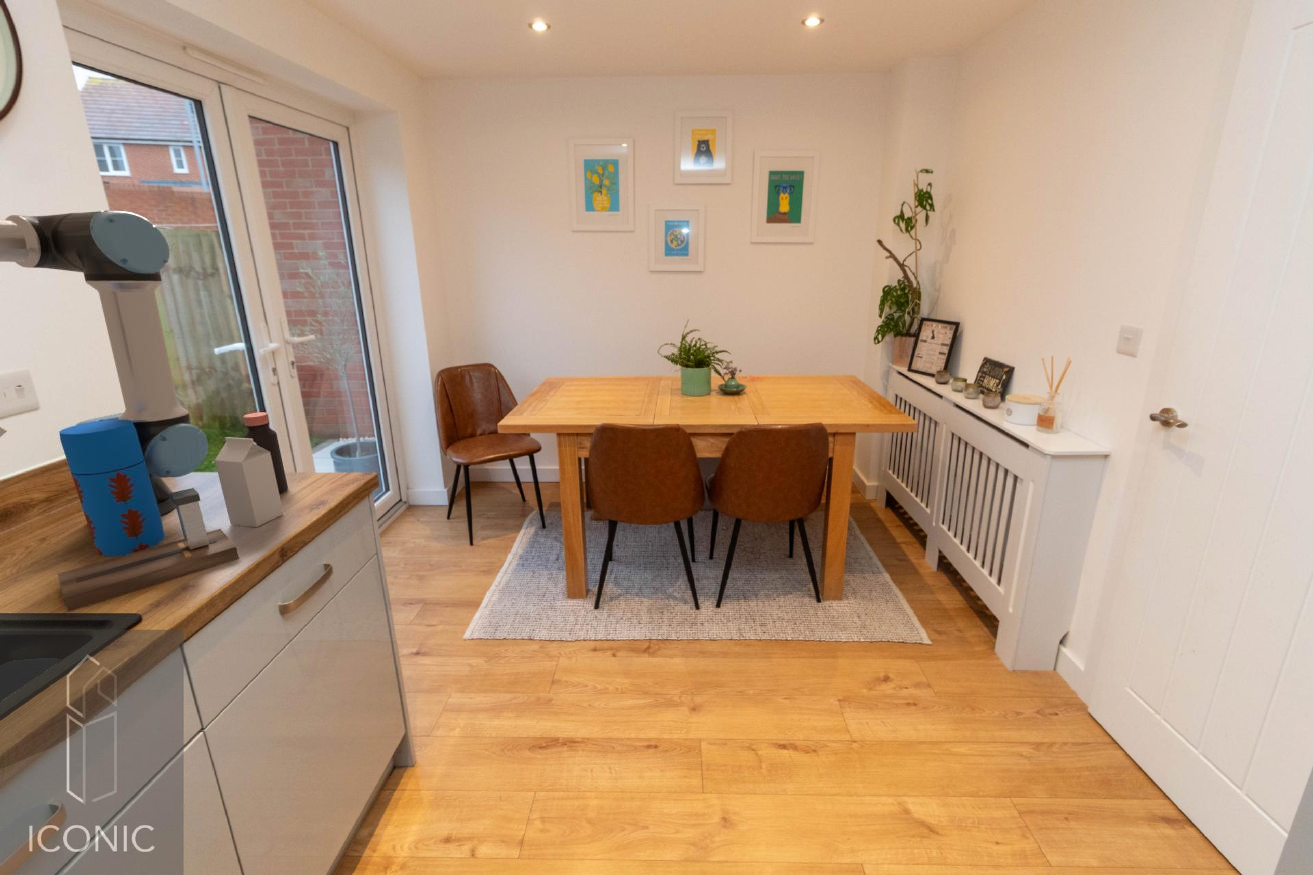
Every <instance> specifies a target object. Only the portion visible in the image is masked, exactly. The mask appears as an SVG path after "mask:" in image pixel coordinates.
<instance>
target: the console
mask: <svg viewBox="0 0 1313 875" xmlns="http://www.w3.org/2000/svg"><path fill="white" fill-rule="evenodd" d="M206 532H207V536H208V540H209V544H208V545H204V546H201V547H197V548H194V549H190V548H189V547H188V546H187V544H186V542H185V538H182V539H179V540H174V541H171V542H167V543H165V544H160V545H157V546H156V545H155V546H152V547H150V548H148V549H145V550H141V551H138V552H134V553H131V554H126V555H120V556H115V557H113V558H109V559H106V560H103V561H100V562H95V563H92V564H89V565H84V566H81V567H77V568H74V569H70V570H67V571H66V570H65V571H63V572H60V573H57V576H58V579H59V586H60V589H61V595H62V600H63V602H64V604H65V607H66V610H67V612H71V611H75V610H78V609H81V608H84V607H87V606H91V605H95V604H97V603H100V602H103V601H106V600H111V599H112V598H117V597H119V596H123V595H126V594H129V593H131V592H132V593H133V592H135V591H139V590H141V589H145V588H147V587H151V586H155V585H157V584H161V583H164V582H167V581H171V580H173V579H174V580H175V579H177V578H180V577H183V576H187V575H189V574H193V573H196V572H199V571H204V570H205V569H209V568H212V567H216V566H219V565H222V564H225V563H229V562H232V561H234V560H237V559H240V557H239V553H238V549H237V546H236V545H235V543H233V541H232V540H231V539H230V538H229V537H228V536H227V534H226V533H225V532H224V531H223V530H222V529H221V528H218V529H215V530H210V531H206Z"/></svg>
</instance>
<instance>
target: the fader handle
mask: <svg viewBox="0 0 1313 875" xmlns="http://www.w3.org/2000/svg"><path fill="white" fill-rule="evenodd" d="M172 492H173V491H172ZM170 496H171V500H172V501H173V502H174V504H175V506H176V507H175V509H176V513H177V516H178V519H179V523H180V526H181V531H182V535H183V537H184V538H183V539H185V542H186V544H187V546H188V547H189V548H190V549H194V548H197V547H201V546H204V545H208V544H209V540H208V536H207V532H208V531H207V530H206V526H205V522H204V517H203V513H202V511H201V506H200V503H199V502H200V501H201V497H200V494H199V491H197V490H196V489H195V488H194V487H190V488H186V489H182V490H177V491H174V492H173V493H170Z"/></svg>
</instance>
